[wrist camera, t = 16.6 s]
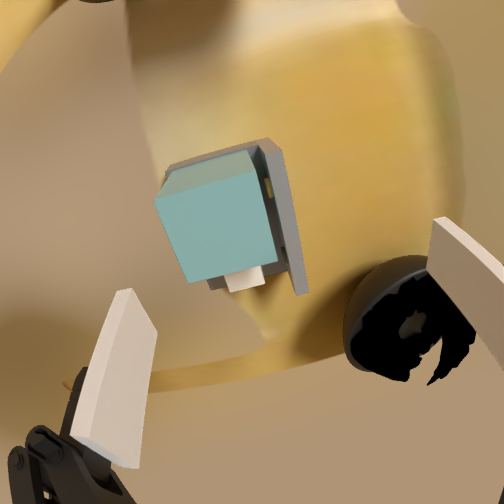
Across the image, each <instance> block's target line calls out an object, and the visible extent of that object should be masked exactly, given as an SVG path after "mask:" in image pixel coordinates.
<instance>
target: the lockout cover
mask: <svg viewBox="0 0 504 504" xmlns="http://www.w3.org/2000/svg"><path fill="white" fill-rule="evenodd" d="M153 202H154V205H155V207H156V209H157V212H158V214H159V217H160V220H161V222H162V224H163V227H164V229H165V232H166V234H167V236H168V239H169V241H170V243H171V246H172V248H173V250H174V253H175V255H176V257H177V260H178V262H179V264H180V266H181V269H182V271H183V273H184V275H185V277H186V280H187V282H188V284H190V283H194V282H198V281H202V280H206V279H210V278H214V277H218V276H222V275H226V274H230V273H234V272H238V271H242V270H246V269H250V268H253V267H257V266H261V265H265V264H269V263H273V262H277V261H278V259H277V255H276V250H275V246H274V242H273V238H272V234H271V229H270V225H269V221H268V217H267V213H266V209H265V205H264V201H263V197H262V193H261V189H260V185H259V181H258V177H257V173H256V170H255V168H254V165H253V163H252V161H251V158H250V156H249V154H248V151H247V150H243V151H239V152H236V153H232V154H228V155H225V156H221V157H218V158H214V159H211V160H207V161H204V162H201V163H197V164H194V165H191V166H188V167H184V168H181V169H178V170H175V171H172V173H171V174H170V176H169V177H168V179H167V180H166V182H165V183H164V185H163V186H162V188H161V189H160V191H159V193H158V194H157V196H156V197H155V199H154V201H153Z"/></svg>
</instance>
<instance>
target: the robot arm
mask: <svg viewBox="0 0 504 504" xmlns="http://www.w3.org/2000/svg"><path fill="white" fill-rule="evenodd" d="M80 1H83V2H88V3H102V2H108V1H113V0H80ZM426 270H427V271H428V273H429V274H430V275H431V276H432V277H433V278H434V279H435V281H436V282H437V283H438V284H439V285H440V286H441V288H442V289H443V290H444V291H445V292H446V294H447V295H448V296H449V297H450V298H451V300H452V301H453V302H454V303H455V305H456V306H457V307H458V308H459V310H460V311H461V312H462V313H463V315H464V316H465V317H466V319H467V320H468V321H469V323H470V324H471V325H472V327H473V328H474V329H475V331H476V332H477V333H478V335H479V336H480V337H481V339H482V340H483V342H484V343H485V344H486V346H487V347H488V349H489V350H490V352H491V353H492V354H493V356H494V358H495V359H496V361H497V362H498V364H499V365H500V367H501V368H502V370H503V371H504V265H502V264H501V263H500V262H499V261H498V260H497V259H495V258H494V257H493V256H492V255H491V254H490V253H489V252H488V251H487V250H486V249H484V248H483V247H482V246H481V245H480V244H479V243H477V242H476V241H475V240H474V239H473V238H472V237H470V236H469V235H468V234H467V233H466V232H464V231H463V230H462V229H461V228H459V227H458V226H457V225H456V224H454V223H453V222H452V221H451V220H449V219H448V218H447V217H440V218H436V219H433V224H432V233H431V240H430V248H429V254H428V260H427V266H426ZM157 335H158V332H157V331H156V329H155V327H154V326H153V324H152V322H151V321H150V319H149V317H148V316H147V314H146V312H145V310H144V308H143V307H142V305H141V304H140V301H139V299H138V298H137V296H136V294H135V292H134V290H133V289H132V288H128V289H124V290H119V291H117V292H116V294H115V297H114V299H113V302H112V304H111V307H110V309H109V312H108V314H107V317H106V319H105V322H104V325H103V327H102V330H101V333H100V335H99V338H98V341H97V344H96V347H95V350H94V352H93V355H92V358H91V361H90V364H89V367H83V368H82V370H81V371H80V373H79V374H78V375H77V377H76V379H75V382H74V385H73V388H72V390H73V392H71V395H70V398H69V399H70V401H69V402H68V405H67V408H66V412H65V416H64V419H63V423H62V427H61V431H60V434H59V436H58V435H57V434H56V433H54V432H53V431H51V430H50V429H49V428H47V427H46V426H44V425H38V426H36V427H34V428H33V429H32V430H31V431H30V432H29V433H28V435H27V437H26V442H25V448H23V447H22V446H16V447H14V448H13V449H12V450H11V452H10V453H9V456H8V473H9V482H10V490H11V496H12V503H13V504H136V502H135V501H134V499H133V498H132V497H131V495H130V494H129V492H128V491H127V490H126V488H125V487H124V485H123V484H122V482H121V481H120V479H119V478H118V476H117V475H116V473H115V472H114V471H113V470H112V469H111V462H113V463H114V464H116V465H118V466H120V467H125V468H135V469H139V461H140V452H141V441H142V433H143V424H144V416H145V408H146V401H147V394H148V387H149V381H150V375H151V369H152V363H153V356H154V351H155V345H156V340H157ZM43 491H45V492H47V493H49V499H46V498H45V497H44V493H43ZM498 504H504V488H503V491H502V494H501V497H500V500H499V503H498Z"/></svg>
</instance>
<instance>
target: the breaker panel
mask: <svg viewBox="0 0 504 504" xmlns="http://www.w3.org/2000/svg"><path fill="white" fill-rule="evenodd" d="M243 150H247V151H248V154H249V156H250V158H251V161H252V163H253V165H254V168H255V170H256V173H257V177H258V181H259V185H260V189H261V193H262V197H263V201H264V205H265V209H266V213H267V217H268V221H269V225H270V229H271V234H272V238H273V242H274V246H275V250H276V255H277V259H278V261H277V262H273V263H269V264H265V265H261V267H262V272H263V276H264V277H266V276H270V275H274V274H278V273H282V272H286V271H288V273H289V276H290V279H291V282H292V285H293V288H294V291H295V294H296V296H298V295H302V294H305V293H309V289H308V283H307V277H306V271H305V265H304V259H303V253H302V248H301V242H300V237H299V231H298V226H297V221H296V216H295V211H294V205H293V200H292V196H291V191H290V186H289V181H288V176H287V172H286V167H285V162H284V158H283V153H282V150H281V149H280V148H279V147H278V146H277V145H276V144H275V143H274V142H273V141H272V140H270V139H269V138H264V139H260V140H256V141H252V142H248V143H244V144H240V145H236V146H233V147H229V148H225V149H222V150H218V151H215V152H211V153H208V154H204V155H201V156H198V157H195V158H191V159H188V160H185V161H182V162H179V163H176V164H173V165H170V166H169V167H168V169H167V170H166V171H165V173H166V176H167V178H168V177H169V176H170V174H171V173H172V171H175V170H178V169H181V168H184V167H188V166H191V165H194V164H197V163H201V162H204V161H207V160H211V159H214V158H218V157H221V156H225V155H228V154H232V153H236V152H239V151H243ZM207 282H208V284H209V286H210V289H211V290H215V289H219V288H223V287H227V283H226V280H225V278H224V275H222V276H218V277H214V278H210V279H207Z"/></svg>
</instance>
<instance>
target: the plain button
mask: <svg viewBox="0 0 504 504" xmlns="http://www.w3.org/2000/svg"><path fill="white" fill-rule="evenodd" d="M224 278H225V280H226V283H227V286H228V288H229V291H230V292H234V291H238V290H242V289H246V288H250V287H254V286H258V285H262V284H265V281H264V276H263V272H262V267H261V266H257V267H253V268H250V269H246V270H242V271H238V272H234V273H230V274H226V275H224Z"/></svg>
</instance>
